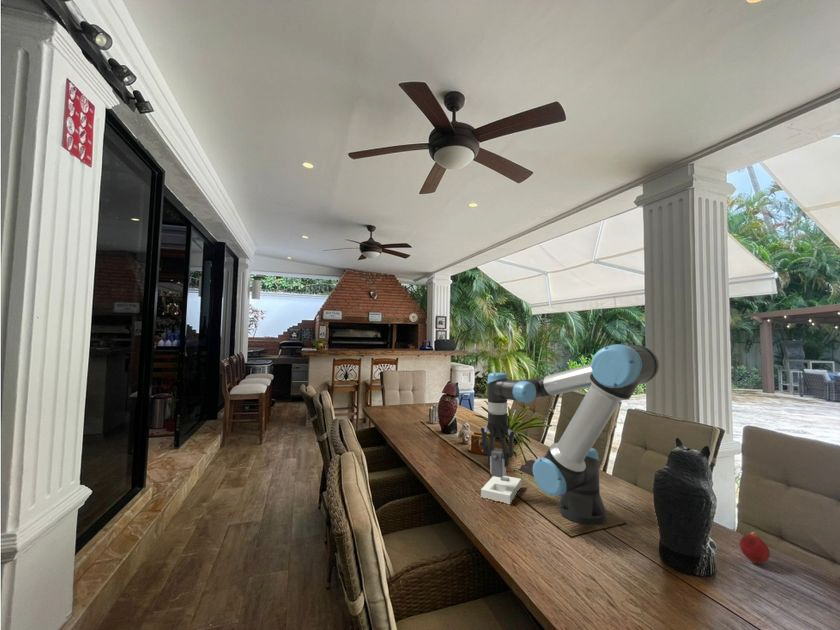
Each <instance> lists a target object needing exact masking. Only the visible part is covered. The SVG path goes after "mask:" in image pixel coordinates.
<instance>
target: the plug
mask: <svg viewBox="0 0 840 630" xmlns="http://www.w3.org/2000/svg"><path fill="white" fill-rule="evenodd" d="M503 457H504V454H503V450H502V448H497V447H496V448H493V450H492V451H491V475H490V476H491V477H493V476H495V477H500V478H502V477H503V476H502V458H503Z"/></svg>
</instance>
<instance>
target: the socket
mask: <svg viewBox="0 0 840 630" xmlns="http://www.w3.org/2000/svg"><path fill="white" fill-rule="evenodd" d="M520 486H521V487H522V478H519V477H512V476H508V475H505V476H503V477H502V478H500V477H495V476H491V478H489V480H488V481H487V482H486V483H485V484H484V485H483V486H482V487H481V488H480V498H481V497H483V498H488V499H492V500H495V501H500V502H504V503H507V504H510V503H511V502H512V500H513V498H514V497H515V495H516V493H517V491H518V489H519V488H520ZM516 496H517V495H516ZM515 498H516V497H515ZM515 498H514V499H515ZM513 501H514V500H513ZM512 503H513V502H512ZM512 503H511V504H512Z"/></svg>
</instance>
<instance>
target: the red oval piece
mask: <svg viewBox="0 0 840 630" xmlns="http://www.w3.org/2000/svg"><path fill="white" fill-rule="evenodd" d="M739 548H740V550H741V552H742V554H743V555H744V557H746V558H747V559H748V560H749V561H751V562H752V563H753V564H756V565H758V564H761V563H765V562H767V561H768V560H769V558H770V554H771V552H770V549H769V546H768V545H767V544H766V543H765V542H764V541H763V540H762V539H761V538H760V537H759V536H758V533H756V532H755V531H752V532H750V533H749V534H746V535H744V536H743V537H741V539H740V540H739Z"/></svg>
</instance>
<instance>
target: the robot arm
mask: <svg viewBox="0 0 840 630" xmlns="http://www.w3.org/2000/svg"><path fill="white" fill-rule="evenodd" d="M659 370H660V362H659V358H658V356H657V355H656V354H655V353H654V352H653V350H651V349H650V348H648V347H646V346H643V345H639V344H618V343H617V344H609V345H607V346H603V348H600V349H599V350H598V351H596V352H595V354H594V355H593V357H592V359H591V363H590V364H587V365H586V364H585V365H583V366H579V367H576V368H572V369H567V370H564V371H560V372H555V373H553V374H549V375H545V376H542V377H537V378H530V379H529V378H528V379H520V380H519V379H517V380H516V379H509V378H508V375H507V373H505V372H504V373H503V372H490V373H488V375H487V411H488V413H487V425H485V426H481V428H480V431H481V438H482V453H483V454H485V455H487V464H488V465H489V467H490V468H489V469H490V474H491V451H492V450H494V446H495V442H496V438H498V439H499V440H500V443H501V444H500V445H501V447H502V448H501V449H502V450H503V454H504V457H503V458H502V476H507V468H509V466H508V465H509V461H510V459H511V458H513V456H514V446H515V443H514V442H515V434H516V430H512V429H510V427H509V426H508V400H511V401H515V402H520V403H532V402H533V401H534V399H536V400H537V399H543V398H548V397H551V396H555V395H556V396H557V395H561V394H565V393H569V392H570V393H571V392H575V391H579V390H585V389H588V390H587V391H586V393H585V395H584V397H583V399H582V400H581V402H580V404H579V406H578V407H577V409H576V411H575V413H574V415H572V418H571V420H570V421H569V423H568V425H567V426H566V428H565V430H564V432H563V434H562V435H561V437H560V439H559V440H558V442H554V443H551V445H550V446H549V447H548V449H547V451H546V453H545V455H544V456H543V457H539V458H538V459H537V460H534V461H535V463H534V465H533V475H534V477H535V480H534V482H535V483H536V485H537V487H539V489H540V490H541V491H542V492H543V493H544V494H546V495H548V496H550V497H559V496H560V498H559V500H558V512H559V514H560V513H561V514H562V515H561V514H560V515H561V516H562V517H564V518H565V517H566V519H567V518H568V519H567V520H569V519H570V521H572V520H573V521H572V522H574V521H575V523H578V524H583V525H589V526H590V525H591V526H593V525H595V526H596V525H601V524H604V523H605V522H606V521H607V509H606V507H605V504H604V501H603V498H602V496H601V493H600V492H601V491H600V488H601V487H600V466H599V465H600V463H599V462H600V459H599V452H598V451H597V450H596V449H595V448H593V446H594V444H595V443H596V441H597V439H599V436H600V435H601V433H602V432H603V430H604V428H605V427H606V425H607V424H608V422H609V420H610V419H611V417H612V415H613V414H614V412H615V411H616V409H617V408H618V406H619V404H620V402H621V401H627V400H628V401H629V400H630V398H631V397H632V395H633V393H634V392H635V391H636V389H637V387H638V386H639V385H641V384H645V383H649V382H650V381H652V380H653V379H655V377H657V375H658V373H659ZM488 431H489V434H490V436H489V437H490V440H489V441H488ZM507 433H508V444H507V440H506V434H507ZM488 442H489V443H488ZM507 445H508V446H507Z"/></svg>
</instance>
